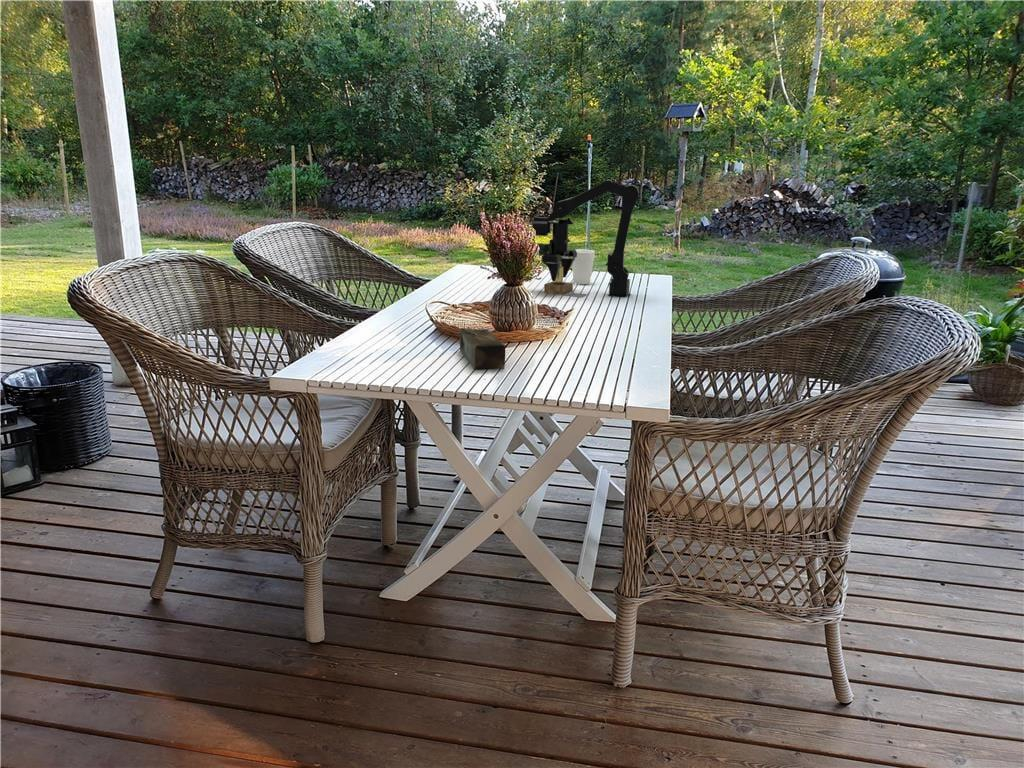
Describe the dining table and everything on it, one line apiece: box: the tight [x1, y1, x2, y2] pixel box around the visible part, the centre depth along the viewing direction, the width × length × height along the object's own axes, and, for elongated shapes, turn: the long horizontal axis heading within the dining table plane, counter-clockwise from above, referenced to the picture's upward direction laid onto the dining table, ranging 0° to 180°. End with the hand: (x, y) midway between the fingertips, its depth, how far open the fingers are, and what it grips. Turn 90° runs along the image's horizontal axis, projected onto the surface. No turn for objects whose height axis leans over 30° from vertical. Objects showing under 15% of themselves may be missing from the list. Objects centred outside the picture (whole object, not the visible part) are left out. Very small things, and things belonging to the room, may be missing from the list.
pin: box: [555, 265, 564, 285], centre depth 278 cm, size 3×3×10 cm
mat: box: [563, 292, 590, 299], centre depth 275 cm, size 7×7×1 cm
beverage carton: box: [459, 327, 506, 371], centre depth 191 cm, size 8×19×7 cm, turn 15°
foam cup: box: [571, 248, 596, 285], centre depth 297 cm, size 10×9×13 cm
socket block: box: [543, 281, 574, 296], centre depth 279 cm, size 8×8×4 cm
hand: (558, 279), depth 278 cm, fingers open, 9 cm apart
